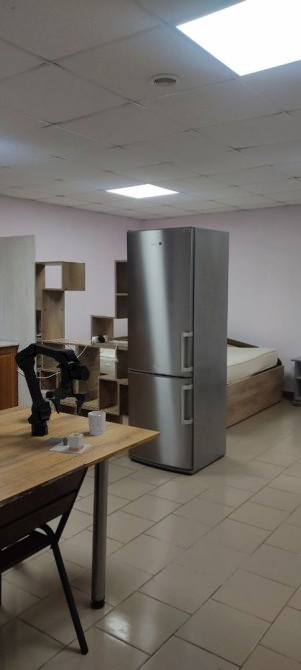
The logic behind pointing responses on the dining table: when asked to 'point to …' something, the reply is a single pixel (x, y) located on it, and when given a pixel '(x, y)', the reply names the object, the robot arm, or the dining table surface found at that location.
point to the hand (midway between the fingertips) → (68, 414)
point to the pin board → (65, 447)
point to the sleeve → (76, 442)
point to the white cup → (97, 423)
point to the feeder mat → (53, 440)
